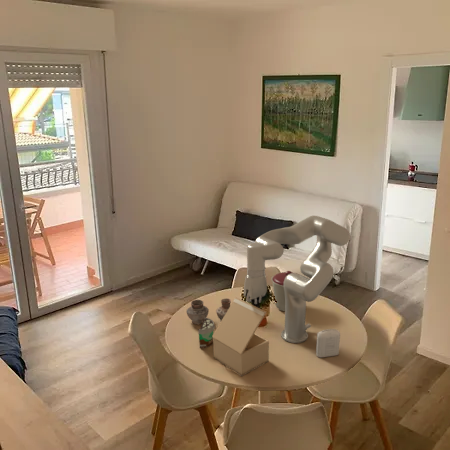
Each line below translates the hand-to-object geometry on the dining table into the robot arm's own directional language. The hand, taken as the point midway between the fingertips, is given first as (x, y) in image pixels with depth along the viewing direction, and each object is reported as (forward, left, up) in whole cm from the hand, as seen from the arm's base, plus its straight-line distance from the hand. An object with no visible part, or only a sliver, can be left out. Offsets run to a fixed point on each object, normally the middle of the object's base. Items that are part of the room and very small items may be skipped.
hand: (255, 310), depth 204 cm
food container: (+11, -20, -21) cm, 31 cm away
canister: (-43, -19, -21) cm, 51 cm away
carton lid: (+10, 0, -3) cm, 10 cm away
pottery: (-3, -35, -21) cm, 41 cm away
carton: (+9, 0, -20) cm, 22 cm away
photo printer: (-22, +23, -21) cm, 38 cm away
